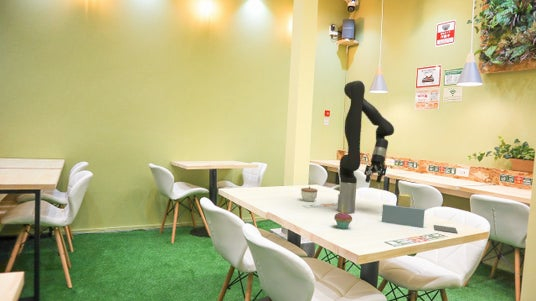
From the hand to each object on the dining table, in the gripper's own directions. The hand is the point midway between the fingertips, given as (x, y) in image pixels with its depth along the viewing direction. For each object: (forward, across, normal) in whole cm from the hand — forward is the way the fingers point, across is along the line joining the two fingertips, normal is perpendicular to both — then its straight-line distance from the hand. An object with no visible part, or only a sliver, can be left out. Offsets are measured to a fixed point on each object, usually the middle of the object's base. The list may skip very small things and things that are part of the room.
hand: (372, 182), depth 201 cm
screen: (+20, +21, +7) cm, 30 cm away
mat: (+17, +35, +21) cm, 44 cm away
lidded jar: (+17, -44, -8) cm, 48 cm away
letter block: (+17, +16, +12) cm, 26 cm away
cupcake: (+32, +16, -27) cm, 45 cm away
